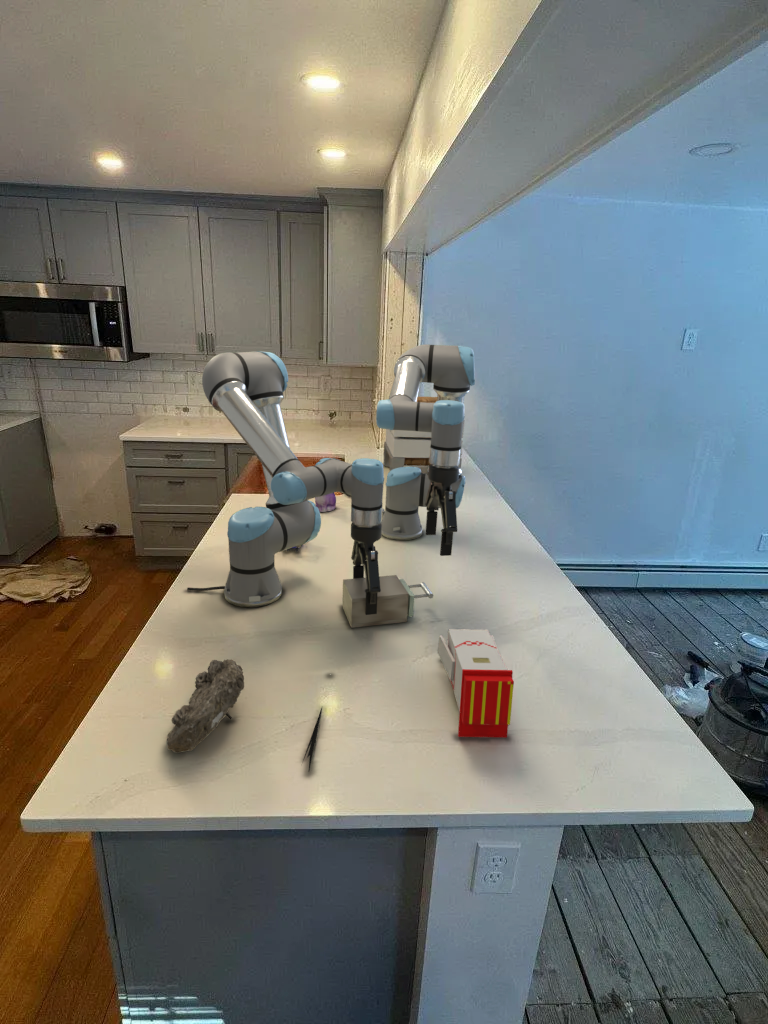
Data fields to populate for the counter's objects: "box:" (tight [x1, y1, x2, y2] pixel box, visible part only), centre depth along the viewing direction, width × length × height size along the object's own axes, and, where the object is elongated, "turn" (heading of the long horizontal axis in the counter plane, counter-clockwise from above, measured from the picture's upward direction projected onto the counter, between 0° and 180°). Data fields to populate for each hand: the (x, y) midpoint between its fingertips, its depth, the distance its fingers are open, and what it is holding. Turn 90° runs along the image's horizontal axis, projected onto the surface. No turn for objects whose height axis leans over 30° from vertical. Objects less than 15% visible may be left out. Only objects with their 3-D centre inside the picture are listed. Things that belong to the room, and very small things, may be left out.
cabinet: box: [341, 574, 409, 629], centre depth 146 cm, size 14×11×8 cm
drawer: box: [399, 578, 434, 618], centre depth 147 cm, size 19×10×6 cm, turn 106°
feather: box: [301, 673, 332, 771], centre depth 108 cm, size 2×28×2 cm
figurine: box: [314, 492, 337, 513], centre depth 218 cm, size 9×10×15 cm
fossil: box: [166, 658, 245, 754], centre depth 106 cm, size 22×10×15 cm
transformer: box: [382, 396, 465, 472], centre depth 268 cm, size 34×33×41 cm
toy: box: [437, 628, 515, 738], centre depth 117 cm, size 12×13×30 cm
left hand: (364, 600), depth 145 cm, fingers open, 13 cm apart
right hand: (437, 544), depth 147 cm, fingers open, 13 cm apart
